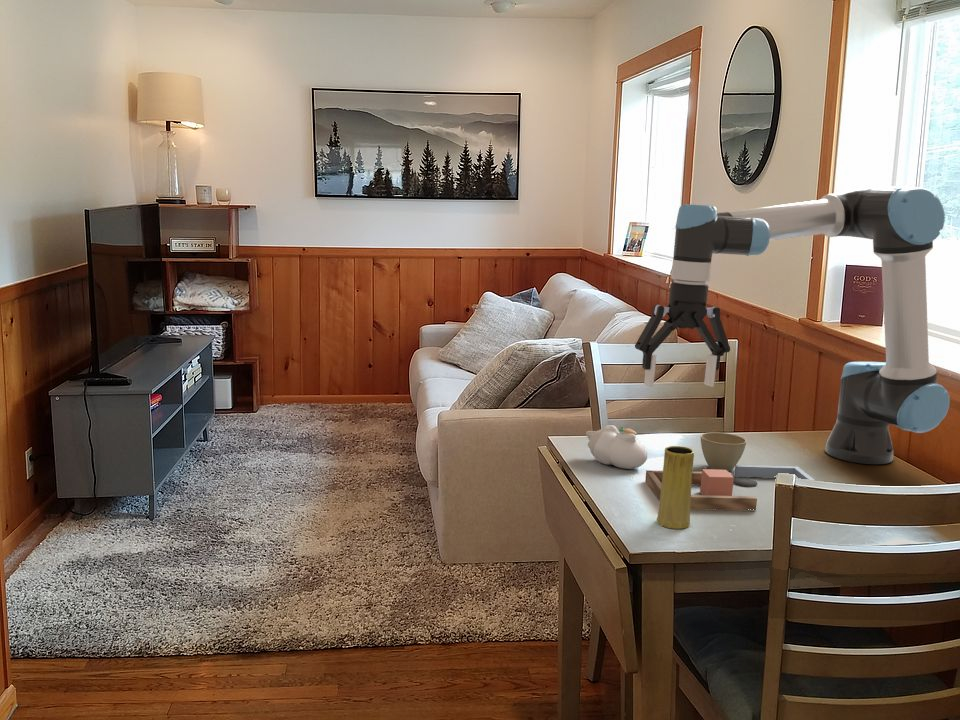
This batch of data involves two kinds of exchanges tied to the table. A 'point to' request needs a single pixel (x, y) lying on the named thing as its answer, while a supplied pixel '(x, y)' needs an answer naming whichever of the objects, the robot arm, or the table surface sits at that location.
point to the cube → (716, 482)
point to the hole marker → (744, 482)
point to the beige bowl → (722, 450)
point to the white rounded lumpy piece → (617, 447)
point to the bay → (768, 471)
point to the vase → (676, 488)
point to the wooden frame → (703, 500)
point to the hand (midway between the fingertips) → (679, 385)
